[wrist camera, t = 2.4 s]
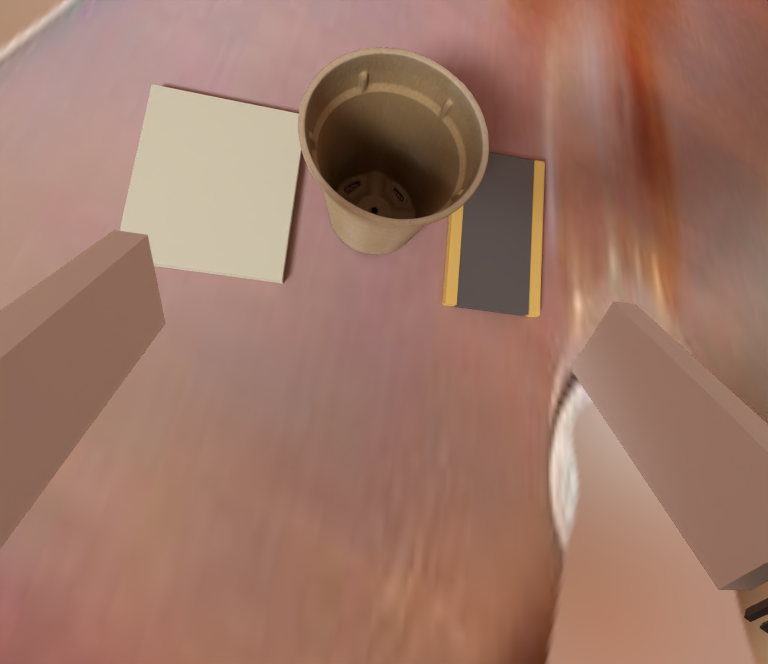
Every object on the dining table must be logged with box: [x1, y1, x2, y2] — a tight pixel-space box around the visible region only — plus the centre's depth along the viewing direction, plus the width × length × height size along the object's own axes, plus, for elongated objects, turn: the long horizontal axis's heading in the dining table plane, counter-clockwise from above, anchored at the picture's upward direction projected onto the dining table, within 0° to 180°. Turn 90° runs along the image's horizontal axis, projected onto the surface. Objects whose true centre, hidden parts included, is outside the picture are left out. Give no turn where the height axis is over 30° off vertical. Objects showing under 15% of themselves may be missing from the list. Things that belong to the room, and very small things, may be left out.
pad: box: [120, 84, 302, 283], centre depth 25 cm, size 10×12×1 cm
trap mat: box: [442, 152, 545, 317], centre depth 27 cm, size 7×12×1 cm, turn 173°
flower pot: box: [298, 47, 489, 254], centre depth 22 cm, size 9×9×9 cm
